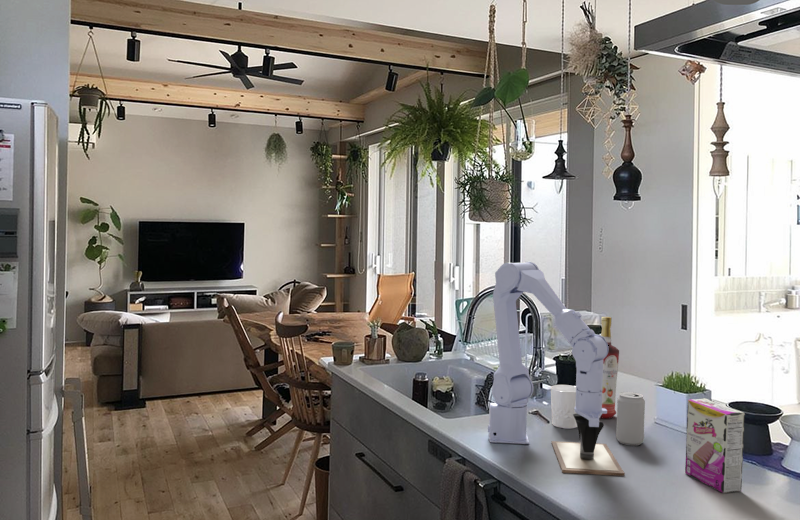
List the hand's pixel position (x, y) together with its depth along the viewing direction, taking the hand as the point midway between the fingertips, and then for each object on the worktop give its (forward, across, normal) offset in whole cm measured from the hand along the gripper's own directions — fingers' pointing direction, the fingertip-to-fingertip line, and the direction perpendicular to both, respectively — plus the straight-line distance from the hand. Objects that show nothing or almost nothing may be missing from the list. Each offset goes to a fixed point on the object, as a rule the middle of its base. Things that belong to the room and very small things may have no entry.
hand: (587, 449), depth 147 cm
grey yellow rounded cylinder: (+2, 0, 0) cm, 2 cm away
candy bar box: (+3, -8, -24) cm, 26 cm away
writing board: (+3, +2, 0) cm, 3 cm away
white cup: (+3, +27, +1) cm, 28 cm away
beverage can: (+3, +15, -13) cm, 20 cm away
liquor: (+3, +37, -11) cm, 39 cm away
